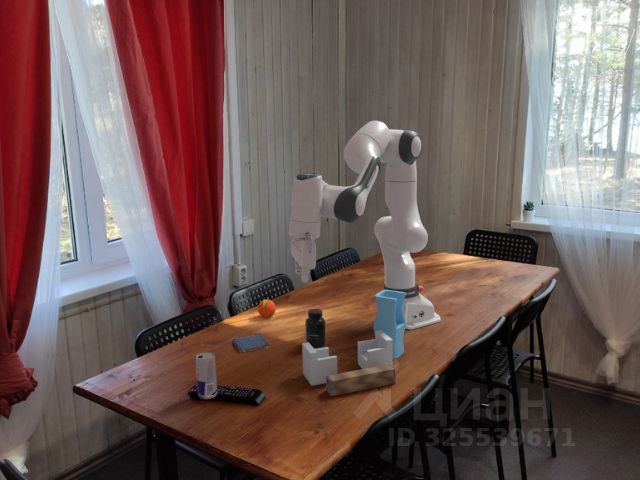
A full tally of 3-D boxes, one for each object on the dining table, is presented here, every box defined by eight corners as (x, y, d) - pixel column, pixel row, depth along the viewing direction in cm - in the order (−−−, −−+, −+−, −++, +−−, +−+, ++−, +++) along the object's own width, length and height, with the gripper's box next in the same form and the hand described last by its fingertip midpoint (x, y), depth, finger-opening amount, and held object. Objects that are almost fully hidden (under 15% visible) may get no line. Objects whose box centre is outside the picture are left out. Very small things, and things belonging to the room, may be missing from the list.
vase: (395, 359, 180) (395, 299, 175) (373, 354, 184) (373, 295, 180) (405, 350, 186) (406, 292, 182) (384, 346, 190) (384, 289, 186)
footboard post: (328, 369, 174) (327, 339, 172) (337, 380, 167) (336, 349, 164) (303, 374, 171) (302, 343, 169) (311, 385, 164) (310, 353, 162)
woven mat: (231, 343, 197) (230, 338, 196) (260, 338, 201) (260, 333, 200) (239, 355, 187) (238, 349, 187) (269, 349, 191) (269, 343, 191)
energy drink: (199, 391, 163) (196, 352, 160) (218, 389, 163) (215, 351, 160) (197, 400, 157) (193, 360, 155) (216, 399, 158) (213, 359, 155)
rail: (389, 378, 168) (390, 364, 167) (395, 383, 164) (395, 368, 163) (326, 390, 161) (326, 375, 160) (330, 396, 158) (330, 381, 157)
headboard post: (381, 359, 180) (381, 330, 178) (392, 370, 172) (392, 339, 170) (357, 364, 177) (357, 334, 175) (368, 374, 170) (368, 343, 168)
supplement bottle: (311, 349, 189) (310, 315, 186) (302, 342, 195) (301, 309, 192) (329, 345, 192) (328, 312, 189) (320, 338, 198) (319, 306, 195)
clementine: (272, 321, 215) (271, 303, 214) (255, 320, 217) (254, 303, 215) (278, 314, 223) (277, 297, 222) (261, 313, 224) (260, 296, 223)
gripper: (323, 237, 151) (319, 287, 154) (308, 225, 171) (305, 270, 173) (300, 236, 150) (297, 286, 152) (288, 224, 170) (285, 269, 172)
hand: (301, 277), depth 163 cm, fingers open, 8 cm apart
